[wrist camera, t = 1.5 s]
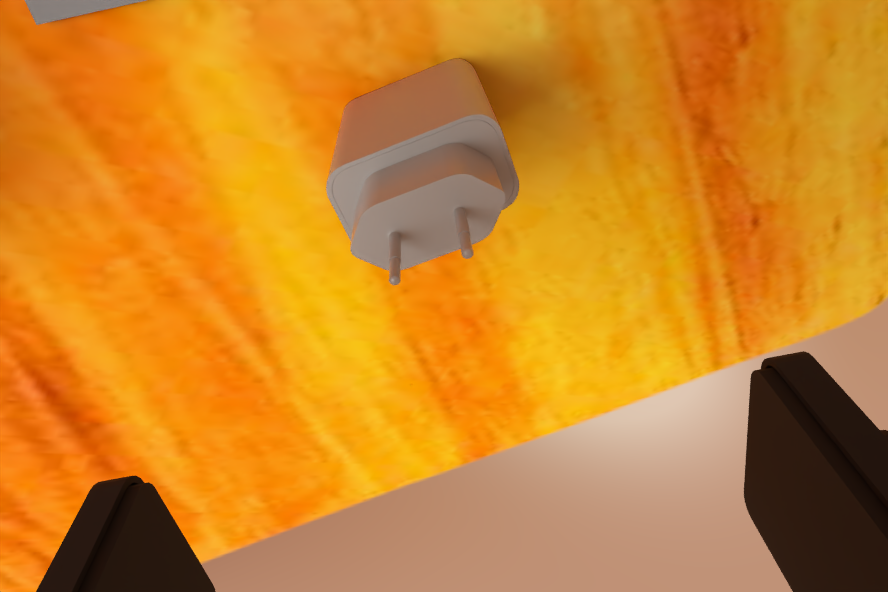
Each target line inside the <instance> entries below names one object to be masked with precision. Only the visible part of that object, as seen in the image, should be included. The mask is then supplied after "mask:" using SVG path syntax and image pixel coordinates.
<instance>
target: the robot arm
mask: <svg viewBox="0 0 888 592" xmlns="http://www.w3.org/2000/svg"><path fill="white" fill-rule="evenodd" d="M744 498H745V503H746V506H747V510H748V512H749V515H750V516H751V518H752V520H753V522H754V524H755V526H756V527H757V529H758V531H759V533H760V535H761V536H762V538H763V540H764V542H765V543H766V545H767V547H768V549H769V550H770V552H771V554H772V556H773V557H774V559H775V561H776V563H777V564H778V566H779V568H780V570H781V572H782V573H783V575H784V577H785V579H786V580H787V582H788V584H789V586H790V587H791V589H792V591H793V592H888V431H886V430H879V429H878V428H877V427H876V426H875V425H874V423H873V422H872V421H871V420H870V419H869V418H868V417H867V416H866V415H865V414H864V412H863V411H862V410H861V409H860V408H859V407H858V406H857V405H856V404H855V403H854V401H853V400H852V399H851V398H850V397H849V396H848V395H847V394H846V393H845V392H844V390H843V389H842V388H841V387H840V386H839V385H838V384H837V383H836V382H835V380H834V379H833V378H832V377H831V376H830V375H829V374H828V373H827V372H826V371H825V369H824V368H823V367H822V366H821V365H820V364H819V363H818V362H817V361H816V360H815V358H814V357H813V356H811V355H810V354H809V353H807V352H798V353H793V354H787V355H782V356H777V357H772V358H767V359H764V361H763V362H762V366H761V369H760V370H755V371H753V373H752V374H751V383H750V399H749V416H748V433H747V450H746V466H745V482H744ZM36 592H215V588H214V586H213V584H212V582H211V581H210V579H209V577H208V575H207V574H206V572H205V570H204V569H203V567H202V565H201V564H200V562H199V560H198V559H197V557H196V555H195V554H194V552H193V550H192V549H191V547H190V545H189V544H188V542H187V540H186V539H185V537H184V535H183V534H182V532H181V530H180V529H179V527H178V525H177V524H176V522H175V520H174V519H173V517H172V515H171V514H170V512H169V510H168V509H167V507H166V505H165V504H164V502H163V500H162V499H161V497H160V495H159V494H158V492H157V490H156V489H155V487H154V486H153V485H152V484H150V483H144V482H143V481H142V479H141V478H139V477H137V476H129V477H123V478H118V479H112V480H107V481H102V482H98V483H96V484H95V485H94V486H93V487H92V488H91V490H90V491H89V493H88V495H87V497H86V499H85V501H84V503H83V505H82V506H81V508H80V510H79V512H78V514H77V516H76V518H75V520H74V521H73V523H72V525H71V527H70V529H69V531H68V533H67V535H66V536H65V538H64V540H63V542H62V544H61V546H60V548H59V550H58V552H57V553H56V555H55V557H54V559H53V561H52V563H51V565H50V567H49V568H48V570H47V572H46V574H45V576H44V578H43V580H42V582H41V583H40V585H39V587H38V589H37V591H36Z"/></svg>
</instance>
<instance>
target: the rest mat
mask: <svg viewBox="0 0 888 592" xmlns="http://www.w3.org/2000/svg"><path fill="white" fill-rule="evenodd" d="M141 1H145V0H25V2H26V4H27V6H28V8H29V10H30V12H31V14H32V16H33V18H34V20H35V22H36V24H37V25H38V24H43V23H47V22H52V21H56V20H61V19H65V18H70V17H74V16H79V15H83V14H87V13H92V12H96V11H101V10H105V9H110V8H114V7H119V6H123V5H128V4H132V3H137V2H141Z"/></svg>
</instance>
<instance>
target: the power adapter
mask: <svg viewBox="0 0 888 592" xmlns="http://www.w3.org/2000/svg"><path fill="white" fill-rule="evenodd" d="M326 188H327V195H328V198H329V200H330V202H331V204H332V206H333V207H334V209H335V211H336V213H337V215H338V217H339V219H340V221H341V223H342V225H343V227H344V229H345V231H346V233H347V235H348V236H349V238H350V240H351V252H352V254H353V255H354V256H355V257H357V258H359V259H362V260H364V261H366V262H369V263H371V264H373V265H376V266H378V267H381V268H383V269H385V270H389V282H390V283H391V284H392V285H397V284H399V283H400V270H403V269H407V268H409V267H412V266H415V265H418V264H420V263H423V262H426V261H428V260H431V259H434V258H437V257H439V256H442V255H445V254H448V253H450V252H453V251H456V250H458V249H461V252H462V256H463V257H464V258H466V259H468V258H471V257H472V256H473V249H472V244H475V243H477V242H479V241H481V240H483V239H484V238H486V237H487V236H488V235H489V234H490V233H491V231H492V230H493V228H494V226H495V223H496V221H497V219H498V216H499V214H500V212H501V210H503V209H505V208H507V207H508V206H509V205H511V204H512V203H513V202H514V200H515V199H516V197H517V195H518V191H519V180H518V177H517V174H516V171H515V168H514V165H513V162H512V159H511V156H510V153H509V150H508V148H507V145H506V142H505V139H504V136H503V133H502V130H501V128H500V125H499V123H498V121H497V119H496V116H495V114H494V112H493V110H492V107H491V105H490V103H489V100H488V98H487V96H486V94H485V91H484V89H483V87H482V84H481V82H480V80H479V78H478V75H477V73H476V71H475V69H474V67H473V66H472V65H471V64H470V63H469V62H467V61H466V60H463V59H452V60H448V61H446V62H443V63H441V64H438V65H436V66H433V67H431V68H429V69H426V70H424V71H421V72H419V73H416V74H414V75H411V76H409V77H407V78H404V79H402V80H399V81H397V82H394V83H392V84H390V85H387V86H385V87H382V88H380V89H377V90H375V91H372V92H370V93H368V94H365V95H363V96H360V97H358V98H356V99H354V100H352V101H350V102H349V103H348V104H347V105H346V107H345V109H344V112H343V116H342V121H341V125H340V129H339V134H338V138H337V142H336V146H335V151H334V155H333V159H332V163H331V168H330V172H329V176H328V181H327V187H326Z"/></svg>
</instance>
